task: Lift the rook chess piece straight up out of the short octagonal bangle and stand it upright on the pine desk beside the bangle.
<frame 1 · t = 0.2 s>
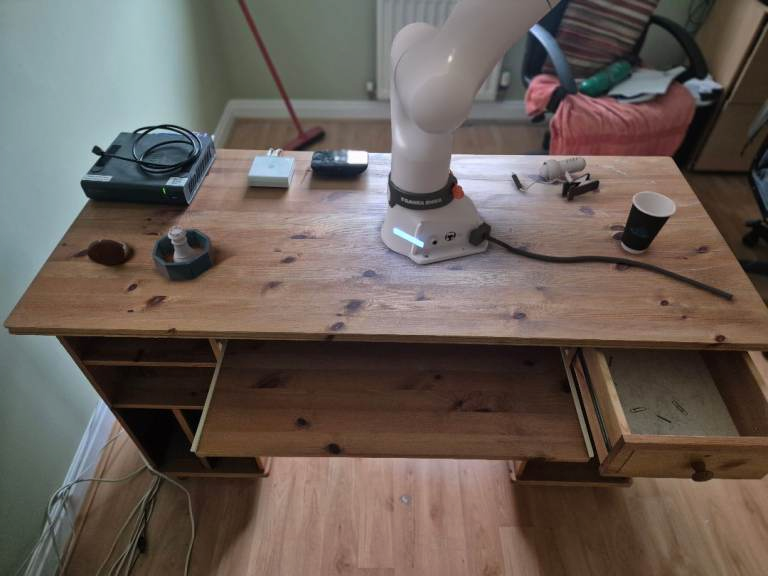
octagonal bangle: (186, 261, 98), on the table
dark brown rounded lump: (110, 259, 98), on the table
rook chess piece: (187, 262, 98), resting in octagonal bangle
dixie cup: (632, 246, 104), on the table
clip-on lamp: (550, 188, 118), on the table
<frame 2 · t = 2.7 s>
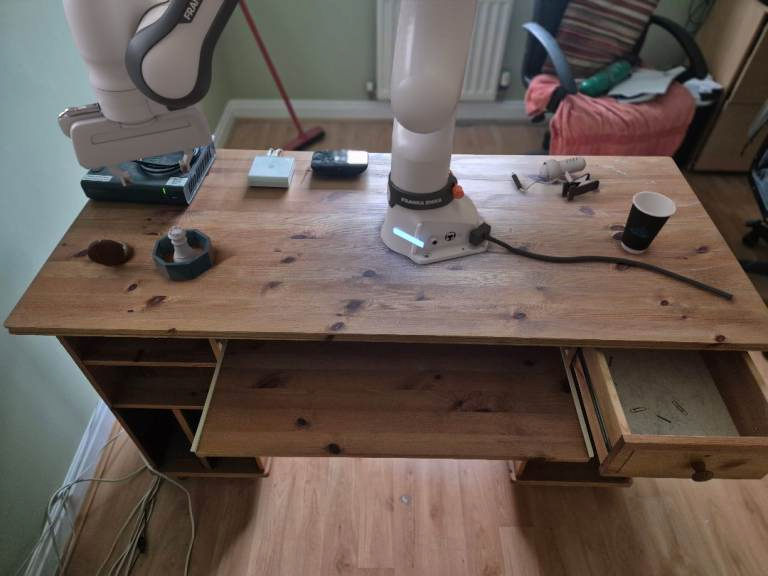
hand: (157, 177, 84), 19 cm above the table, tool pointing down, fingers open, 8 cm apart
nothing on the table moved.
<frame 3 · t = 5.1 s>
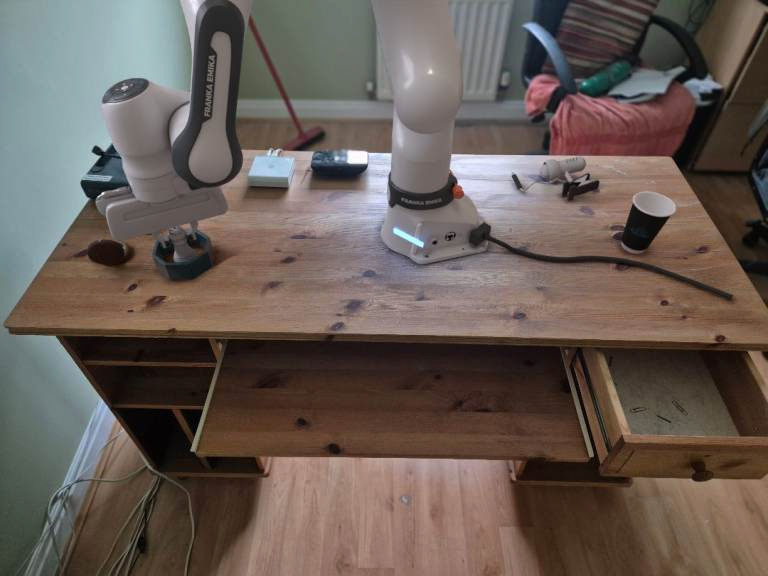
hand: (179, 241, 94), 5 cm above the table, tool pointing down, fingers closed on rook chess piece, 3 cm apart
rook chess piece: (187, 262, 98), resting in octagonal bangle, touching gripper
everything else where it was.
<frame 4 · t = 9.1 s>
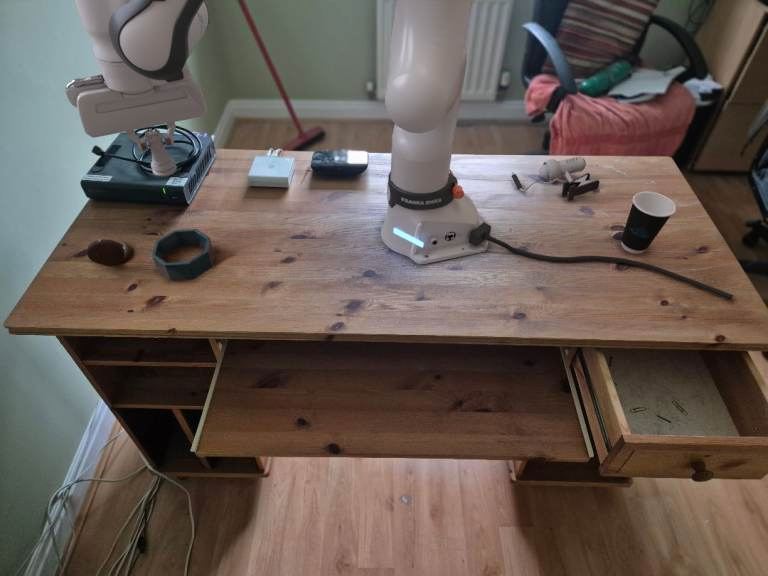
hand: (157, 146, 91), 19 cm above the table, tool pointing down, fingers closed on rook chess piece, 3 cm apart
rook chess piece: (165, 171, 95), point 14 cm above the table, touching gripper
everything else where it was.
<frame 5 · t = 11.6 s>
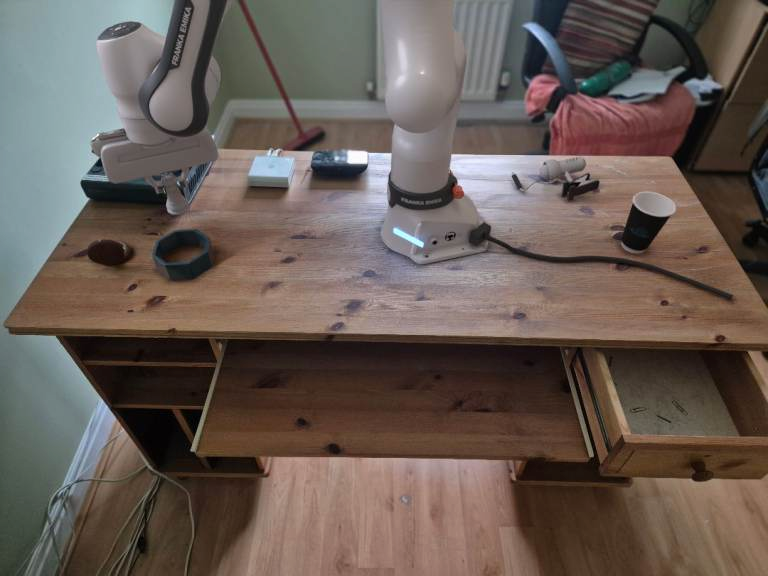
hand: (172, 188, 98), 10 cm above the table, tool pointing down, fingers closed on rook chess piece, 3 cm apart
rook chess piece: (179, 210, 102), point 4 cm above the table, touching gripper
everything else where it was.
when the fingers open (5 cm above the table, at t = 13.2 s): rook chess piece stays where it is, on the table.
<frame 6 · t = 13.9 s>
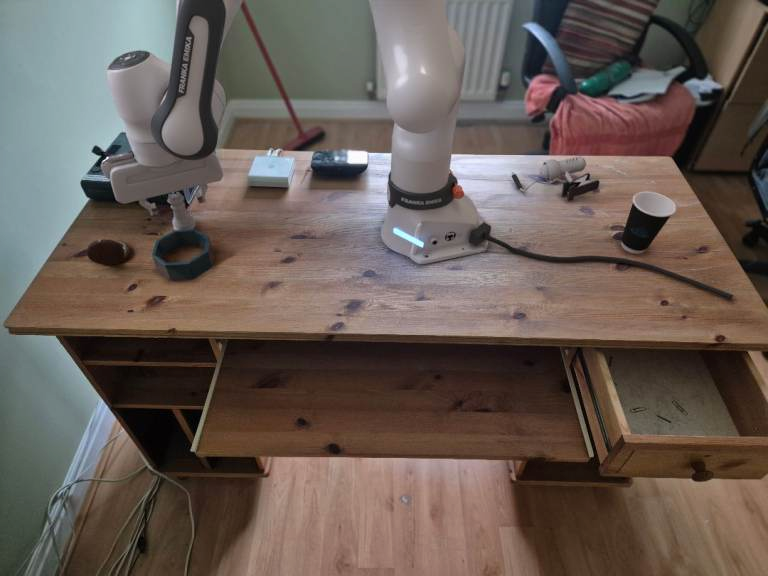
hand: (178, 207, 102), 5 cm above the table, tool pointing down, fingers open, 8 cm apart
rook chess piece: (185, 227, 105), on the table
everything else where it was.
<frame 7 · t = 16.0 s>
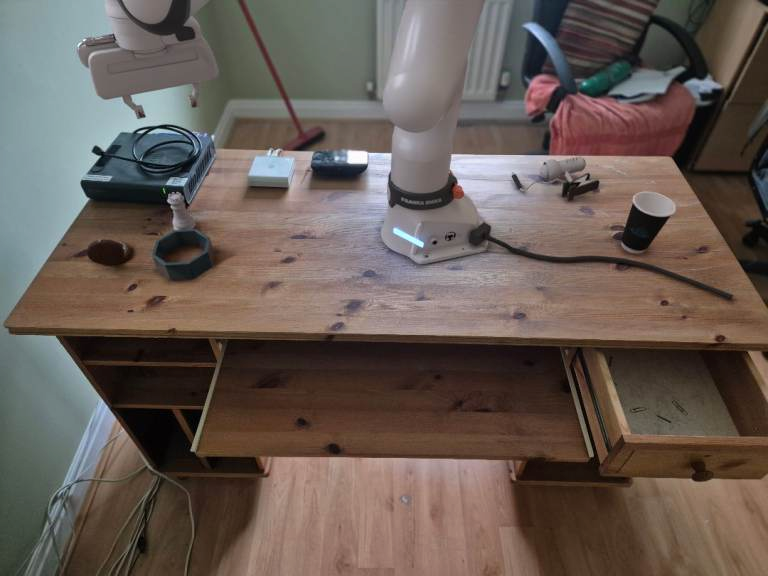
hand: (168, 111, 90), 24 cm above the table, tool pointing down, fingers open, 8 cm apart
nothing on the table moved.
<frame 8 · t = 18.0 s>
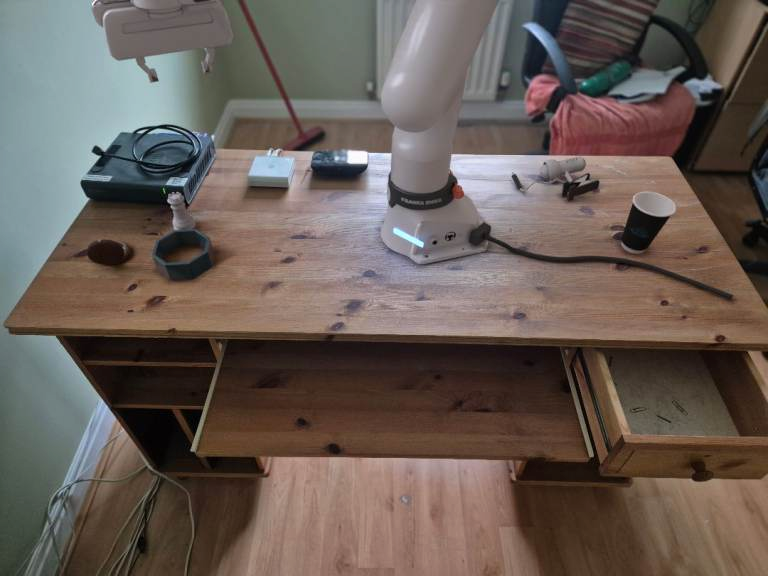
hand: (181, 76, 89), 29 cm above the table, tool pointing down, fingers open, 8 cm apart
nothing on the table moved.
at the end: rook chess piece inside the target area (0.1 cm from its centre), on the table; rook chess piece tilted 0°; rook chess piece touching table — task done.
